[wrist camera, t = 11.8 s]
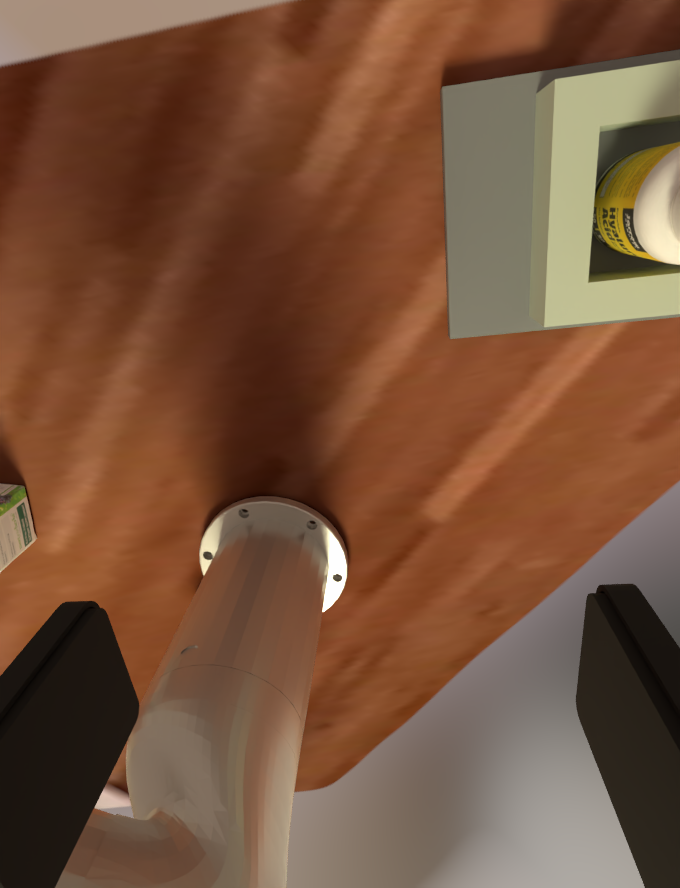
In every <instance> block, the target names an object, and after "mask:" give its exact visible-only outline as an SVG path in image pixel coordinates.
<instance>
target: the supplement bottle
mask: <svg viewBox="0 0 680 888" xmlns="http://www.w3.org/2000/svg"><path fill="white" fill-rule="evenodd" d="M592 232H593V234H594V236H595V237H596V239H597V240H598V241H599V242H600V243H601V244H602V245H604V246H605V247H607V248H609V249H611V250H613V251H616V252H619V253H623V254H628V255H633V256H638V257H641V258H646V259H651V260H655V261H659V262H664V263H668V264H676V265H680V142H677V143H673V144H668V145H663V146H658V147H653V148H648V149H643V150H639V151H636V152H633V153H630V154H628V155H626V156H624V157H622V158H621V159H619V160H617V161H616V162H615V163H614V164H612V165H611V166H610V167H609V168H608V169H607V170H606V171H605V172H604V173H603V175H602V176H601V177H600V179H599V180H598V182H597V184H596V186H595V199H594V213H593V226H592Z"/></svg>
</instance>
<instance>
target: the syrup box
mask: <svg viewBox="0 0 680 888" xmlns="http://www.w3.org/2000/svg"><path fill="white" fill-rule="evenodd" d="M36 539H37V537H36V534H35V532H34V528H33V522H32V517H31V513H30V508H29V504H28V500H27V496H26V491H25V487H24V486H22V485H11V484H1V483H0V572H1V571H2V570H3V569H4V568H6V567H7V566H8V565H9V564H10V563H11V562H12V561H13V560H14V559H15V558H17V557H18V556H19V555H20V554H21V553H22V552H23V551H24V550H26V549H27V548H28V547H29V546H30V545H31V544H32V543H33V542H34V541H35V540H36Z"/></svg>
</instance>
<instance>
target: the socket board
mask: <svg viewBox="0 0 680 888" xmlns="http://www.w3.org/2000/svg"><path fill="white" fill-rule="evenodd" d="M440 98H441V129H442V159H443V190H444V221H445V251H446V282H447V312H448V336H449V338H450V339H456V338H466V337H476V336H487V335H497V334H507V333H518V332H528V331H538V330H549V329H559V328H569V327H580V326H590V325H601V324H611V323H621V322H632V321H642V320H652V319H663V318H673V317H680V265H676V264H668V263H664V262H659V261H655V260H651V259H646V258H641V257H638V256H633V255H628V254H623V253H619V252H616V251H613V250H611V249H609V248H607V247H605V246H604V245H602V244H601V243H600V242H599V241H598V240H597V239H596V237H595V236H594V234H593V232H592V226H593V213H594V199H595V186H596V184H597V182H598V180H599V179H600V177H601V176H602V175H603V173H604V172H605V171H606V170H607V169H608V168H609V167H610V166H611V165H612V164H614V163H615V162H616V161H617V160H619V159H621V158H622V157H624V156H626V155H628V154H630V153H633V152H636V151H639V150H643V149H648V148H653V147H658V146H663V145H668V144H673V143H677V142H680V49H679V50H673V51H666V52H660V53H654V54H647V55H641V56H635V57H628V58H622V59H616V60H609V61H603V62H597V63H590V64H584V65H577V66H571V67H565V68H558V69H552V70H546V71H539V72H533V73H527V74H520V75H514V76H508V77H501V78H495V79H489V80H482V81H476V82H470V83H463V84H457V85H451V86H444V87H442V89H441V91H440Z"/></svg>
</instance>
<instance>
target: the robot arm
mask: <svg viewBox="0 0 680 888" xmlns="http://www.w3.org/2000/svg"><path fill="white" fill-rule="evenodd" d="M311 520H313V521H311ZM199 562H200V566H201V570H202V574H203V576H204V577H203V579H202V581H201V583H200V585H199V587H198V589H197V591H196V593H195V595H194V597H193V599H192V601H191V603H190V605H189V607H188V609H187V611H186V613H185V615H184V617H183V619H182V621H181V623H180V625H179V627H178V629H177V631H176V633H175V635H174V637H173V639H172V641H171V643H170V645H169V647H168V649H167V651H166V653H165V655H164V657H163V659H162V661H161V663H160V665H159V667H158V669H157V671H156V673H155V675H154V677H153V679H152V681H151V683H150V685H149V687H148V689H147V691H146V693H145V695H144V697H143V699H142V701H141V703H140V705H139V701H138V698H137V696H136V693H135V690H134V687H133V684H132V682H131V679H130V676H129V673H128V671H127V668H126V665H125V662H124V659H123V657H122V654H121V651H120V648H119V646H118V643H117V640H116V637H115V635H114V632H113V629H112V626H111V623H110V621H109V618H108V615H107V613H106V611H105V610H104V609H103V608H100V607H99V605H98V604H97V603H96V602H94V601H78V602H65V603H62V604H61V605H60V606H59V607H58V608H57V609H56V610H55V612H54V613H53V614H52V615H51V616H50V618H49V619H48V620H47V621H46V622H45V624H44V625H43V626H42V627H41V628H40V630H39V631H38V632H37V633H36V634H35V636H34V637H33V638H32V639H31V640H30V641H29V643H28V644H27V645H26V646H25V647H24V649H23V650H22V651H21V652H20V653H19V655H18V656H17V657H16V658H15V659H14V661H13V662H12V663H11V664H10V665H9V667H8V668H7V669H6V670H5V671H4V673H3V674H2V675H1V676H0V888H286V882H287V881H286V880H287V859H288V843H289V832H290V823H291V813H292V804H293V797H294V790H295V782H296V775H297V768H298V762H299V756H300V750H301V743H302V737H303V731H304V725H305V718H306V713H307V707H308V701H309V694H310V688H311V682H312V676H313V669H314V663H315V657H316V650H317V644H318V638H319V632H320V625H321V619H322V613H323V612H324V611H326V610H327V609H328V608H329V607H331V606H332V605H333V604H334V603H335V601H336V600H337V599H338V598H339V597H340V595H341V593H342V591H343V589H344V587H345V583H346V579H347V574H348V556H347V550H346V548H345V545H344V542H343V540H342V538H341V536H340V535H339V533H338V531H337V530H336V528H335V527H334V526H333V525H332V524H331V523H330V522H329V521H328V519H326V518H325V517H324V516H322V515H321V514H320V513H319V512H317V511H316V510H314V509H312V508H310V507H308V506H307V505H305V504H303V503H300V502H297V501H294V500H291V499H287V498H281V497H275V496H258V497H252V498H247V499H243V500H241V501H238V502H235V503H233V504H231V505H230V506H228V507H226V508H225V509H223V510H222V511H221V512H220V513H219V514H218V515H216V516H215V517H214V518H213V520H212V521H211V523H210V524H209V526H208V528H207V529H206V531H205V533H204V535H203V537H202V540H201V544H200V549H199ZM576 705H577V712H578V716H579V719H580V722H581V724H582V727H583V730H584V732H585V735H586V737H587V740H588V743H589V745H590V748H591V750H592V753H593V755H594V758H595V761H596V763H597V766H598V768H599V771H600V773H601V776H602V778H603V781H604V784H605V786H606V789H607V791H608V794H609V796H610V799H611V802H612V804H613V806H614V809H615V811H616V814H617V817H618V819H619V822H620V825H621V827H622V830H623V832H624V835H625V837H626V840H627V842H628V845H629V848H630V850H631V853H632V855H633V858H634V860H635V863H636V866H637V868H638V871H639V873H640V876H641V878H642V881H643V883H644V886H645V888H680V648H679V647H678V645H677V644H676V642H675V641H674V639H673V638H672V636H671V635H670V634H669V632H668V631H667V629H666V628H665V626H664V625H663V623H662V622H661V621H660V619H659V617H658V616H657V615H656V613H655V612H654V610H653V609H652V607H651V606H650V605H649V603H648V602H647V600H646V599H645V597H644V596H643V595H642V593H641V591H640V590H639V589H638V588H637V586H636V585H633V584H612V585H599V586H598V588H597V591H596V593H591V594H588V596H587V600H586V609H585V619H584V629H583V638H582V647H581V656H580V666H579V676H578V684H577V694H576ZM127 740H128V743H127V752H126V772H127V783H128V790H129V796H130V802H131V807H132V811H133V816H134V818H130V817H126V816H122V815H118V814H116V815H113V814H110V813H107V812H104V811H101V810H98V809H95V808H94V807H95V805H96V803H97V801H98V799H99V797H100V795H101V793H102V791H103V789H104V787H105V785H106V783H107V781H108V779H109V777H110V775H111V773H112V770H113V768H114V766H115V764H116V762H117V760H118V758H119V756H120V754H121V752H122V750H123V748H124V746H125V744H126V742H127Z"/></svg>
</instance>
